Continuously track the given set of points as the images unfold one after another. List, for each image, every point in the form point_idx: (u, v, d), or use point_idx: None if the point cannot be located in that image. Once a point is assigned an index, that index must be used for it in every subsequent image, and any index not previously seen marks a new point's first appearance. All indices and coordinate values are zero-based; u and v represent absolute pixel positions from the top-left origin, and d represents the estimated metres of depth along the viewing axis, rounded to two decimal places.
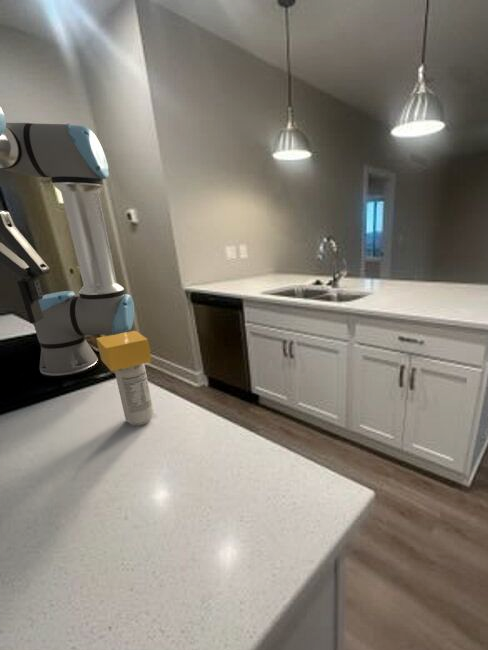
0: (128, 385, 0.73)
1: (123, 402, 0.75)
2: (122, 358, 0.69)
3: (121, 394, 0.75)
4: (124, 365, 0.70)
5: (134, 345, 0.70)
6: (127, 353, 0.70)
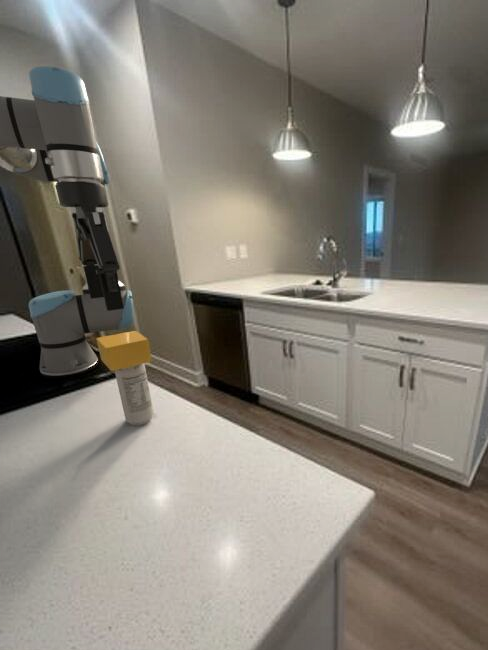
0: (128, 385, 0.73)
1: (123, 402, 0.75)
2: (122, 358, 0.69)
3: (121, 394, 0.75)
4: (124, 365, 0.70)
5: (134, 345, 0.70)
6: (127, 353, 0.70)
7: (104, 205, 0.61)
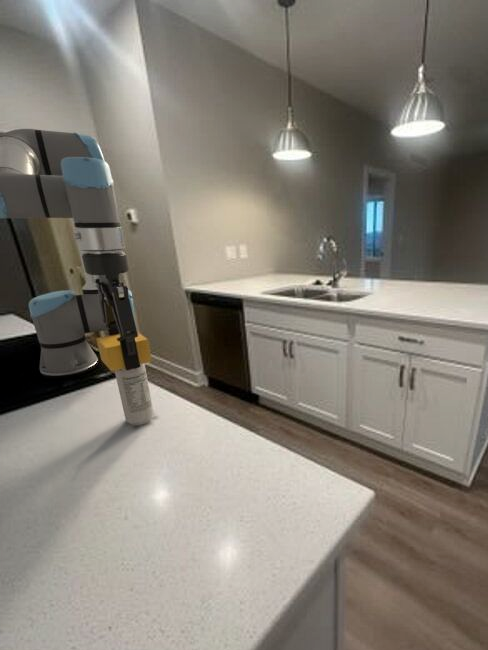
0: (128, 385, 0.73)
1: (123, 402, 0.75)
2: (122, 358, 0.69)
3: (121, 394, 0.75)
4: (124, 365, 0.70)
5: None
6: None
7: (125, 271, 0.67)
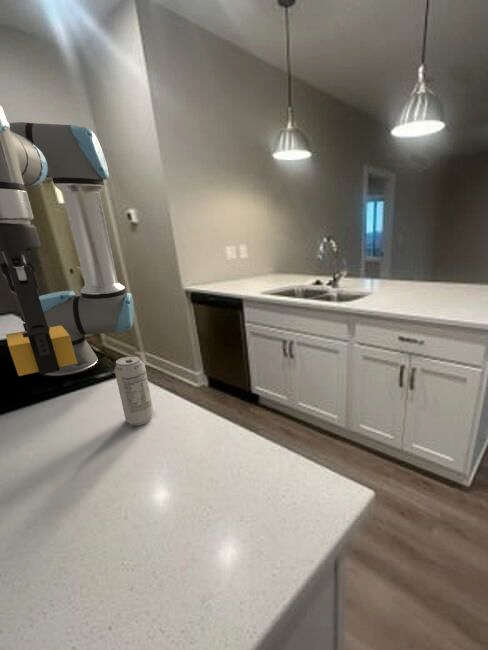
0: (128, 385, 0.73)
1: (123, 402, 0.75)
2: (34, 359, 0.55)
3: (121, 394, 0.75)
4: (37, 368, 0.55)
5: None
6: None
7: (34, 248, 0.52)
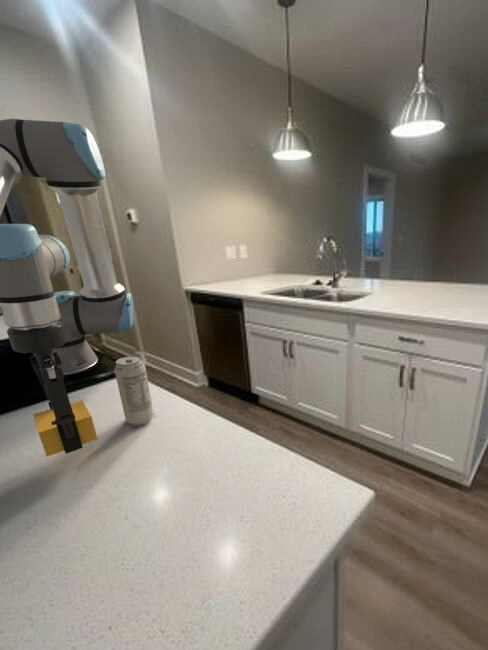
0: (128, 385, 0.73)
1: (123, 402, 0.75)
2: (60, 441, 0.61)
3: (121, 394, 0.75)
4: (63, 447, 0.61)
5: None
6: None
7: (61, 345, 0.58)
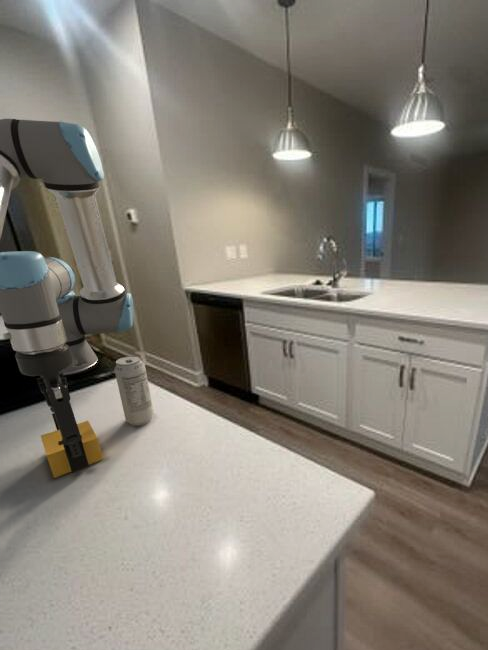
0: (128, 385, 0.73)
1: (123, 402, 0.75)
2: (67, 462, 0.63)
3: (121, 394, 0.75)
4: (70, 468, 0.63)
5: None
6: None
7: (67, 367, 0.60)
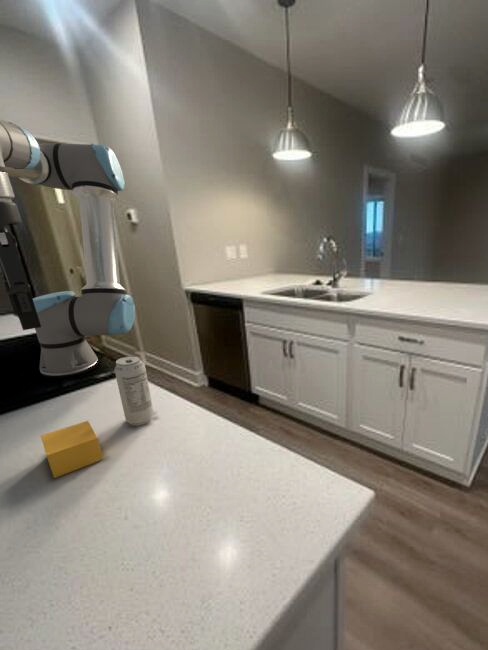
0: (128, 385, 0.73)
1: (123, 402, 0.75)
2: (67, 462, 0.63)
3: (121, 394, 0.75)
4: (70, 468, 0.63)
5: (81, 447, 0.63)
6: (73, 456, 0.63)
7: (15, 223, 0.60)
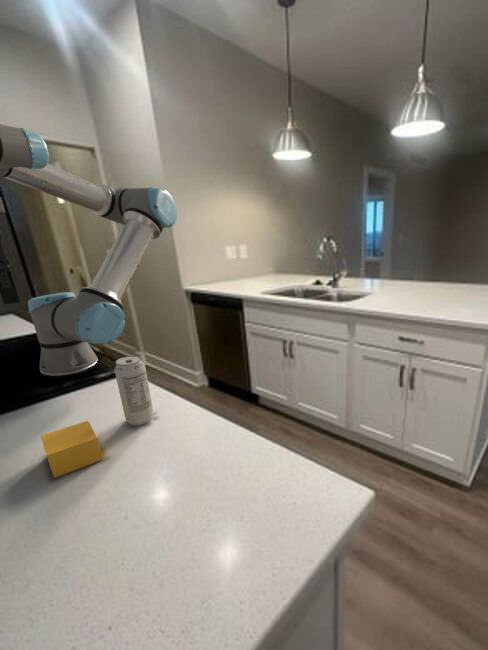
0: (128, 385, 0.73)
1: (123, 402, 0.75)
2: (67, 462, 0.63)
3: (121, 394, 0.75)
4: (70, 468, 0.63)
5: (81, 447, 0.63)
6: (73, 456, 0.63)
7: None
